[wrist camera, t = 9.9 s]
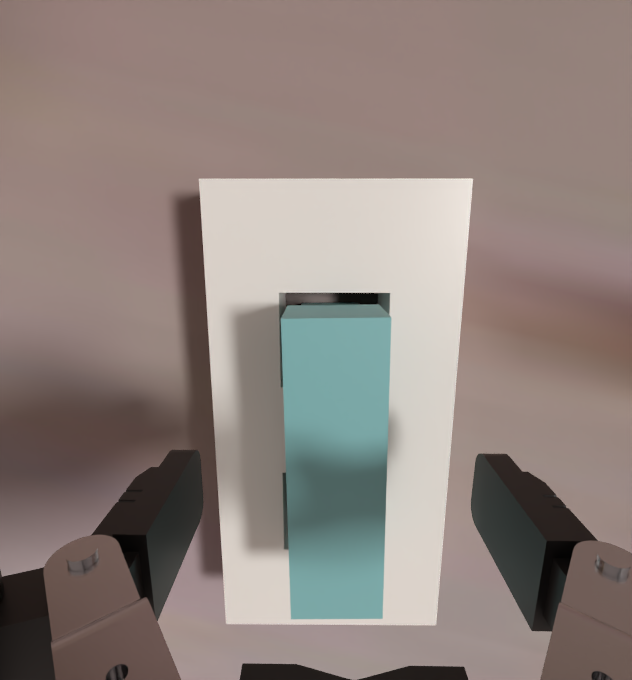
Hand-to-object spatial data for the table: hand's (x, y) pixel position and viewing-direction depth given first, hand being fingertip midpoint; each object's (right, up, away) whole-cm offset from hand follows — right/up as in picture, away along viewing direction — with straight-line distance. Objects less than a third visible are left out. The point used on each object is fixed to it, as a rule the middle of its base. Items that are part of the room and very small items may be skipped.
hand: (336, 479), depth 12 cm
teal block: (0, +1, +7) cm, 7 cm away
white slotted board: (0, +1, +7) cm, 7 cm away
